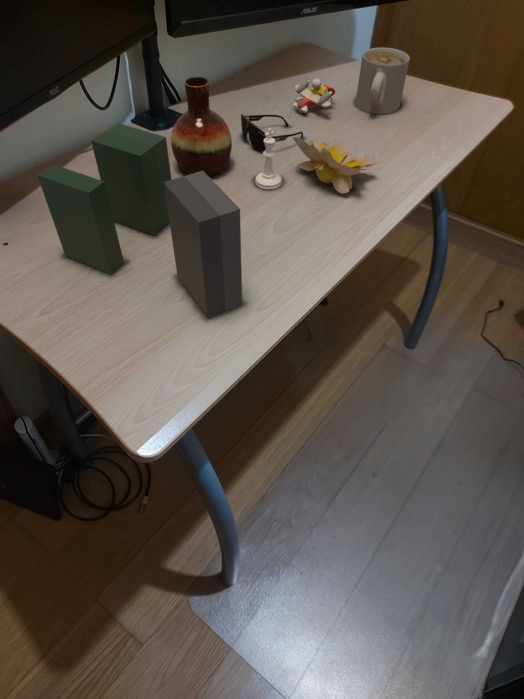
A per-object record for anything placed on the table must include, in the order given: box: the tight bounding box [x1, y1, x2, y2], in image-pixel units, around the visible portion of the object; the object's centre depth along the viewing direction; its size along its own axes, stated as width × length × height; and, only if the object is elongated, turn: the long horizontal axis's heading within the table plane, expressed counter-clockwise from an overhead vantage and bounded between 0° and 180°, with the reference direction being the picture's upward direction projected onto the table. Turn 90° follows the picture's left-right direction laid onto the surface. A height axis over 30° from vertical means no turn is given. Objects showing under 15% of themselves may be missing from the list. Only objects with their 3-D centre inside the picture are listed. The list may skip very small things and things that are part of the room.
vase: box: [170, 76, 233, 177], centre depth 93 cm, size 11×11×15 cm
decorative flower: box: [292, 136, 379, 194], centre depth 92 cm, size 15×11×10 cm
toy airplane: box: [293, 77, 336, 114], centre depth 112 cm, size 9×9×6 cm
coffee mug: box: [355, 47, 411, 115], centre depth 112 cm, size 13×10×10 cm
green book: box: [36, 164, 125, 275], centre depth 75 cm, size 3×9×14 cm, turn 62°
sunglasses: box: [240, 113, 304, 153], centre depth 104 cm, size 10×12×5 cm
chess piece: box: [254, 127, 283, 190], centre depth 91 cm, size 5×5×10 cm
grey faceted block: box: [164, 171, 243, 319], centre depth 70 cm, size 6×10×16 cm, turn 31°
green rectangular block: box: [90, 122, 173, 237], centre depth 82 cm, size 6×9×14 cm
